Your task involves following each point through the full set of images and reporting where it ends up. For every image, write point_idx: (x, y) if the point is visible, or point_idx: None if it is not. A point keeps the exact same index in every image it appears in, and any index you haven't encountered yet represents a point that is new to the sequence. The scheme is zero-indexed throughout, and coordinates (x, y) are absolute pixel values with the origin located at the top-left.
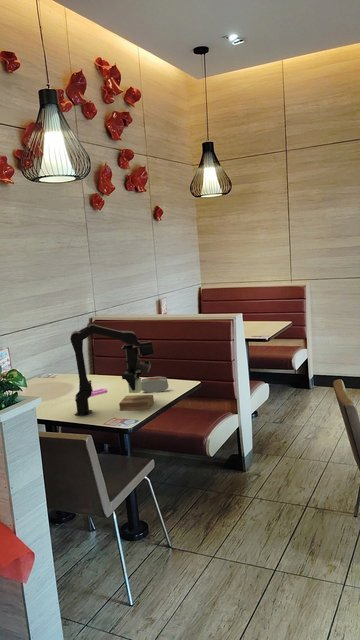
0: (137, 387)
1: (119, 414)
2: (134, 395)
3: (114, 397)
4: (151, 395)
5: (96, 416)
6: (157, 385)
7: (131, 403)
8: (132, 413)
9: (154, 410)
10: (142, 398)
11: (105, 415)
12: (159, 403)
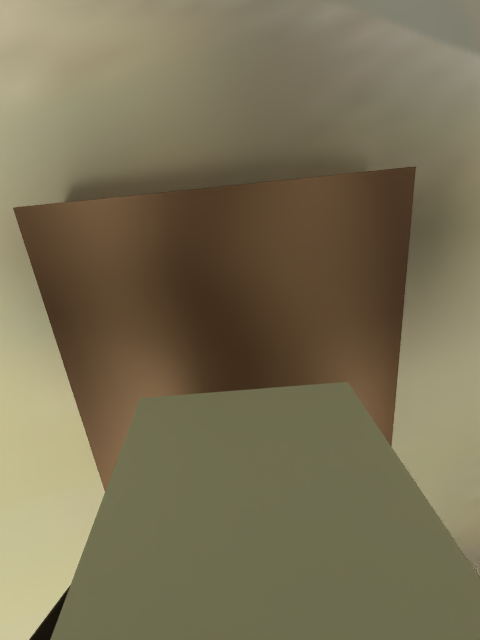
0: (399, 487)
1: (462, 414)
2: (96, 461)
3: (22, 602)
4: (52, 226)
5: (469, 544)
6: None
7: (392, 387)
8: (461, 311)
9: (406, 69)
10: (214, 318)
11: (462, 501)
12: (120, 89)
